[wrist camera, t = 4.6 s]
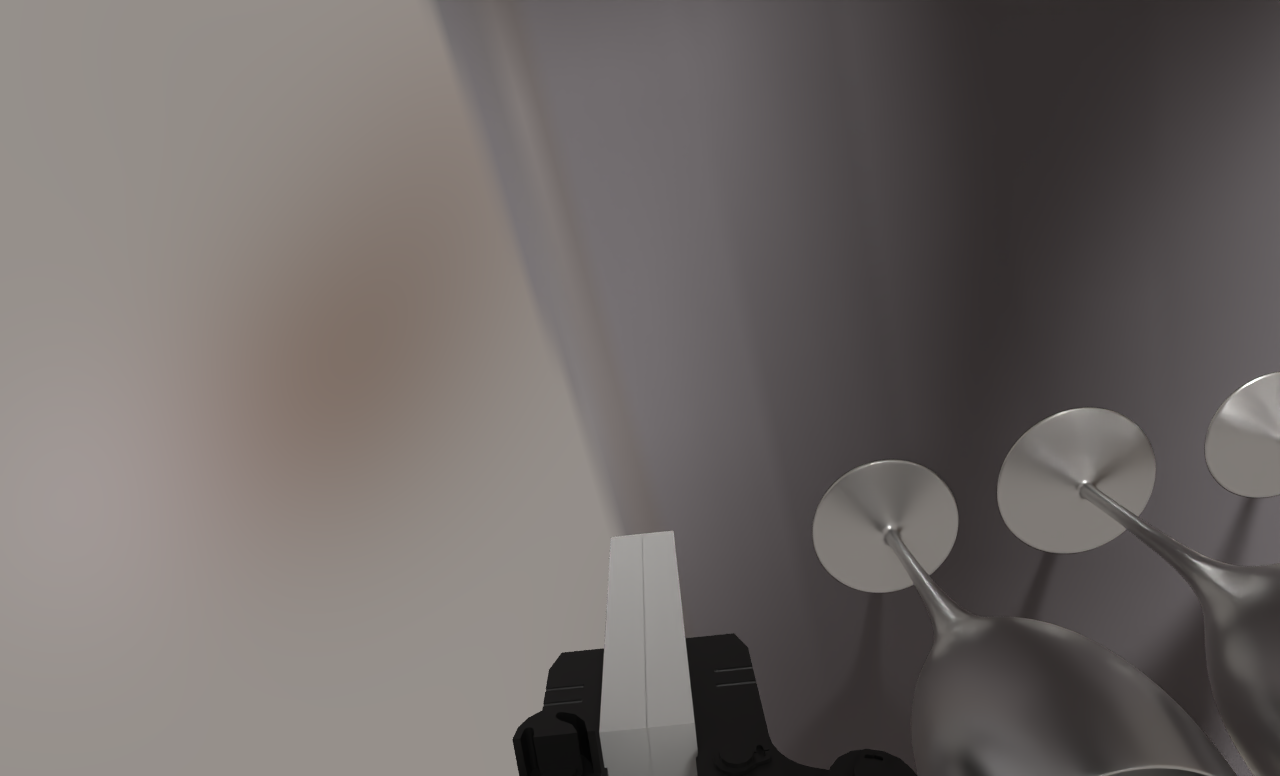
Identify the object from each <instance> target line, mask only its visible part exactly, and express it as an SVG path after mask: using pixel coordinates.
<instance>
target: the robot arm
mask: <svg viewBox="0 0 1280 776" xmlns="http://www.w3.org/2000/svg"><path fill="white" fill-rule="evenodd" d="M513 745H514V750H515V755H516V760H517V766H518V771H519V776H917V775H916V774H915V772H914V771H913V770H912V769H911V768H910V767H909V766H908V765H907V764H905V763H904V762H903V761H902V760H901V759H900V758H897V757H895V756H893V755H891V754H888V753H886V752H883V751H877V750H870V749H864V750H856V751H850V752H849V753H847V754H845V755H843V756H841V757H839V758H838V759H837V760H836V761H835V762H834V764H833V765H832V766H831V767H830V770H825V769H819V768H813V767H809V766H805V765H801V764H798V763H796V762H794V761H792V760H790V759H788V758H786V757H785V756H784V755H782V754H781V753H780V752H779V751H778V750H777V749H776V748H775V746H774V745H773V744H772V742H771V739H770V737H769V734H768V730H767V725H766V721H765V717H764V713H763V709H762V705H761V700H760V696H759V692H758V688H757V684H756V679H755V675H754V671H753V668H752V663H751V658H750V654H749V650H748V647H747V646H746V645H745V644H744V643H743V642H742V641H741V640H740V639H739V638H738V637H737V636H736V635H735V634H734V633H733V634H724V635H714V636H704V637H694V638H685V631H684V622H683V613H682V604H681V595H680V586H679V577H678V568H677V559H676V550H675V541H674V532H673V531H665V532H655V533H646V534H636V535H627V536H617V537H611V544H610V561H609V578H608V594H607V611H606V629H605V644H604V649H595V650H584V651H574V652H565V653H561V655H560V656H559V657H558V659H557V660H556V661H555V663H554V664H553V665H552V667H551V668H550V669H549V674H548V680H547V686H546V692H545V698H544V707H543V710H542V711H540V712H539V713H537V714H535V715H533V716H531V717H529V718H528V719H527V720H526V721H525V722H523V723H522V724H521V725H520V726H519V727H518V729H517V731H516V733H515V735H514V737H513Z"/></svg>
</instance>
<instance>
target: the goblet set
mask: <svg viewBox="0 0 1280 776" xmlns="http://www.w3.org/2000/svg"><path fill="white" fill-rule="evenodd" d="M1204 452H1205V460H1206V464H1207V467H1208V469H1209V471H1210V473H1211V475H1212V476H1213V478H1214V479H1215V480H1216V481H1217V482H1218V483H1219V484H1220V485H1221V486H1222V487H1223V488H1225V489H1226V490H1228V491H1230V492H1232V493H1234V494H1237V495H1240V496H1244V497H1251V498H1265V497H1272V496H1277V495H1280V371H1279V372H1273V373H1269V374H1265V375H1262V376H1260V377H1257V378H1255V379H1253V380H1251V381H1249V382H1247V383H1246V384H1244V385H1242V386H1241V387H1239V388H1238V389H1237V390H1235V391H1234V392H1233V393H1232V394H1231V395H1230V396H1229V397H1228V398H1227V399H1226V400H1225V401H1224V402H1223V403H1222V404H1221V406H1220V407H1219V408H1218V410H1217V411H1216V413H1215V414H1214V416H1213V418H1212V420H1211V422H1210V424H1209V427H1208V430H1207V433H1206V437H1205V445H1204ZM1155 477H1156V461H1155V455H1154V451H1153V448H1152V446H1151V443H1150V441H1149V439H1148V438H1147V436H1146V435H1145V433H1144V432H1143V431H1142V429H1141V428H1140V427H1139V426H1138V425H1137V424H1136V423H1134V422H1133V421H1132V420H1130V419H1129V418H1127V417H1126V416H1124V415H1122V414H1120V413H1117V412H1115V411H1112V410H1108V409H1104V408H1096V407H1081V408H1074V409H1069V410H1065V411H1061V412H1059V413H1056V414H1053V415H1051V416H1049V417H1047V418H1045V419H1043V420H1041V421H1040V422H1038V423H1037V424H1035V425H1034V426H1032V427H1031V428H1030V429H1028V430H1027V431H1026V432H1025V433H1024V434H1023V435H1022V436H1021V437H1020V438H1019V439H1018V440H1017V441H1016V442H1015V444H1014V445H1013V446H1012V448H1011V449H1010V451H1009V452H1008V454H1007V456H1006V457H1005V459H1004V462H1003V464H1002V466H1001V469H1000V472H999V476H998V481H997V503H998V508H999V511H1000V514H1001V517H1002V519H1003V521H1004V522H1005V524H1006V526H1007V527H1008V529H1009V530H1010V531H1011V532H1012V533H1013V534H1014V535H1015V536H1016V537H1017V538H1018V539H1019V540H1021V541H1022V542H1024V543H1025V544H1027V545H1029V546H1031V547H1033V548H1035V549H1038V550H1041V551H1045V552H1049V553H1057V554H1071V553H1079V552H1084V551H1088V550H1091V549H1094V548H1097V547H1099V546H1102V545H1104V544H1106V543H1108V542H1110V541H1111V540H1113V539H1115V538H1116V537H1118V536H1119V535H1120V534H1122V533H1123V532H1124V531H1125V530H1128V531H1130V532H1131V533H1132V534H1134V535H1135V536H1136V537H1137V538H1139V539H1140V540H1141V541H1142V542H1144V543H1145V544H1146V545H1147V546H1149V547H1150V548H1151V549H1152V550H1153V551H1155V552H1156V553H1157V554H1158V555H1159V556H1161V557H1162V558H1163V559H1164V560H1165V561H1166V562H1167V563H1169V564H1170V565H1171V566H1172V567H1173V568H1174V569H1175V570H1176V571H1177V572H1178V573H1179V574H1180V575H1181V576H1182V577H1183V578H1184V579H1185V580H1186V582H1187V583H1188V584H1189V585H1190V587H1191V588H1192V589H1193V591H1194V592H1195V594H1196V596H1197V598H1198V600H1199V602H1200V605H1201V608H1202V611H1203V617H1204V628H1205V655H1206V663H1207V672H1208V677H1209V681H1210V686H1211V690H1212V694H1213V697H1214V700H1215V703H1216V706H1217V708H1218V711H1219V714H1220V717H1221V719H1222V721H1223V724H1224V726H1225V728H1226V730H1227V731H1228V733H1229V735H1230V737H1231V739H1232V741H1233V743H1234V745H1235V747H1236V749H1237V750H1238V752H1239V753H1240V755H1241V757H1242V758H1243V760H1244V761H1245V763H1246V765H1247V766H1248V768H1249V769H1250V771H1251V772H1252V774H1253V775H1254V776H1280V563H1278V564H1271V565H1261V566H1239V565H1232V564H1227V563H1223V562H1220V561H1217V560H1214V559H1212V558H1209V557H1207V556H1205V555H1202V554H1200V553H1198V552H1196V551H1194V550H1192V549H1190V548H1188V547H1187V546H1185V545H1183V544H1181V543H1180V542H1178V541H1176V540H1174V539H1173V538H1171V537H1169V536H1168V535H1166V534H1165V533H1163V532H1161V531H1160V530H1158V529H1157V528H1155V527H1153V526H1152V525H1150V524H1149V523H1147V522H1146V521H1144V520H1143V519H1141V518H1140V517H1139V516H1140V514H1141V513H1142V511H1143V510H1144V508H1145V506H1146V505H1147V503H1148V501H1149V499H1150V496H1151V494H1152V491H1153V487H1154V483H1155ZM958 526H959V514H958V507H957V504H956V500H955V498H954V496H953V493H952V492H951V490H950V488H949V487H948V485H947V484H946V483H945V482H944V480H943V479H942V478H941V477H940V476H938V475H937V474H936V473H935V472H933V471H932V470H930V469H929V468H927V467H925V466H923V465H920V464H918V463H915V462H911V461H907V460H900V459H884V460H877V461H872V462H869V463H865V464H863V465H860V466H858V467H856V468H854V469H852V470H850V471H848V472H847V473H845V474H844V475H842V476H841V477H840V478H839V479H837V480H836V481H835V482H834V483H833V484H832V485H831V486H830V487H829V488H828V490H827V491H826V492H825V494H824V495H823V497H822V498H821V500H820V502H819V504H818V506H817V508H816V511H815V514H814V518H813V523H812V541H813V546H814V550H815V553H816V555H817V557H818V559H819V561H820V563H821V564H822V566H823V567H824V568H825V570H826V571H827V572H828V573H829V574H830V575H831V576H832V577H834V578H835V579H836V580H837V581H839V582H841V583H842V584H844V585H846V586H848V587H850V588H853V589H856V590H859V591H864V592H871V593H887V592H894V591H899V590H902V589H905V588H908V587H911V586H913V585H915V587H916V589H917V591H918V593H919V595H920V597H921V598H922V600H923V603H924V605H925V607H926V609H927V612H928V614H929V617H930V620H931V623H932V627H933V633H934V643H933V647H932V649H931V651H930V653H929V654H928V656H927V658H926V660H925V662H924V664H923V667H922V669H921V672H920V675H919V677H918V680H917V683H916V687H915V692H914V697H913V702H912V712H911V737H912V748H913V755H914V760H915V766H916V771H917V775H918V776H1237V775H1236V773H1235V772H1234V771H1233V769H1232V768H1231V767H1230V765H1229V764H1228V763H1227V761H1226V760H1225V759H1224V757H1223V756H1222V755H1221V753H1220V752H1219V751H1218V749H1217V748H1216V747H1215V746H1214V744H1213V743H1212V742H1211V741H1210V739H1209V738H1208V737H1207V735H1206V734H1205V733H1204V732H1203V731H1202V730H1201V728H1200V727H1199V726H1198V725H1197V724H1196V722H1195V721H1194V720H1193V719H1192V718H1191V717H1190V716H1189V715H1188V714H1187V713H1186V712H1185V711H1184V710H1183V708H1182V707H1181V706H1180V705H1179V704H1178V703H1177V702H1176V701H1175V700H1173V699H1172V698H1171V697H1170V696H1169V695H1168V694H1167V693H1166V692H1165V691H1164V690H1163V689H1162V688H1161V687H1159V686H1158V685H1157V684H1156V683H1155V682H1153V681H1152V680H1151V679H1150V678H1149V677H1147V676H1146V675H1145V674H1144V673H1142V672H1141V671H1140V670H1138V669H1137V668H1136V667H1134V666H1133V665H1131V664H1130V663H1129V662H1127V661H1126V660H1125V659H1123V658H1122V657H1120V656H1119V655H1117V654H1115V653H1114V652H1112V651H1111V650H1109V649H1107V648H1106V647H1104V646H1102V645H1101V644H1099V643H1097V642H1095V641H1093V640H1091V639H1089V638H1087V637H1085V636H1083V635H1081V634H1079V633H1077V632H1074V631H1071V630H1069V629H1066V628H1063V627H1060V626H1058V625H1055V624H1051V623H1047V622H1043V621H1038V620H1034V619H1028V618H1020V617H1009V616H992V617H982V616H978V615H975V614H972V613H970V612H969V611H967V610H966V609H964V608H962V607H961V606H960V605H958V604H957V603H956V602H955V601H954V600H952V599H951V598H950V597H949V596H948V595H947V594H946V593H945V592H944V591H943V590H942V589H941V588H940V587H939V586H938V585H937V584H936V582H935V581H934V580H933V579H932V578H931V577H930V575H931V574H932V573H933V572H935V571H936V570H937V569H938V568H939V567H940V566H941V564H942V563H943V562H944V561H945V559H946V558H947V557H948V555H949V553H950V551H951V550H952V548H953V545H954V543H955V540H956V537H957V533H958Z"/></svg>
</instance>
